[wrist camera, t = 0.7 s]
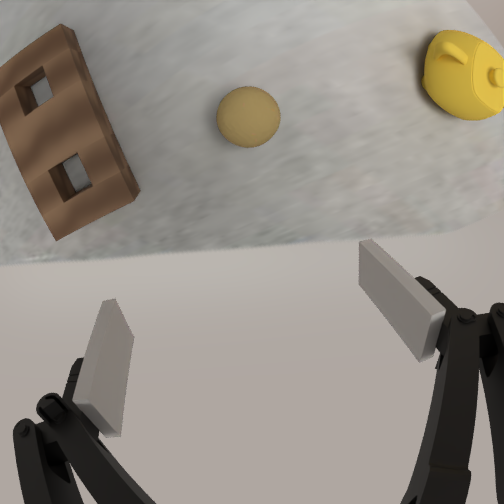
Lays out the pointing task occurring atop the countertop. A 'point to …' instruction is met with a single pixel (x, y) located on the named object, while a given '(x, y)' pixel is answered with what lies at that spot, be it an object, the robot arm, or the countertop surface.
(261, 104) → the light bulb
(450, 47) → the teapot
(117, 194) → the hole block
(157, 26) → the countertop surface
